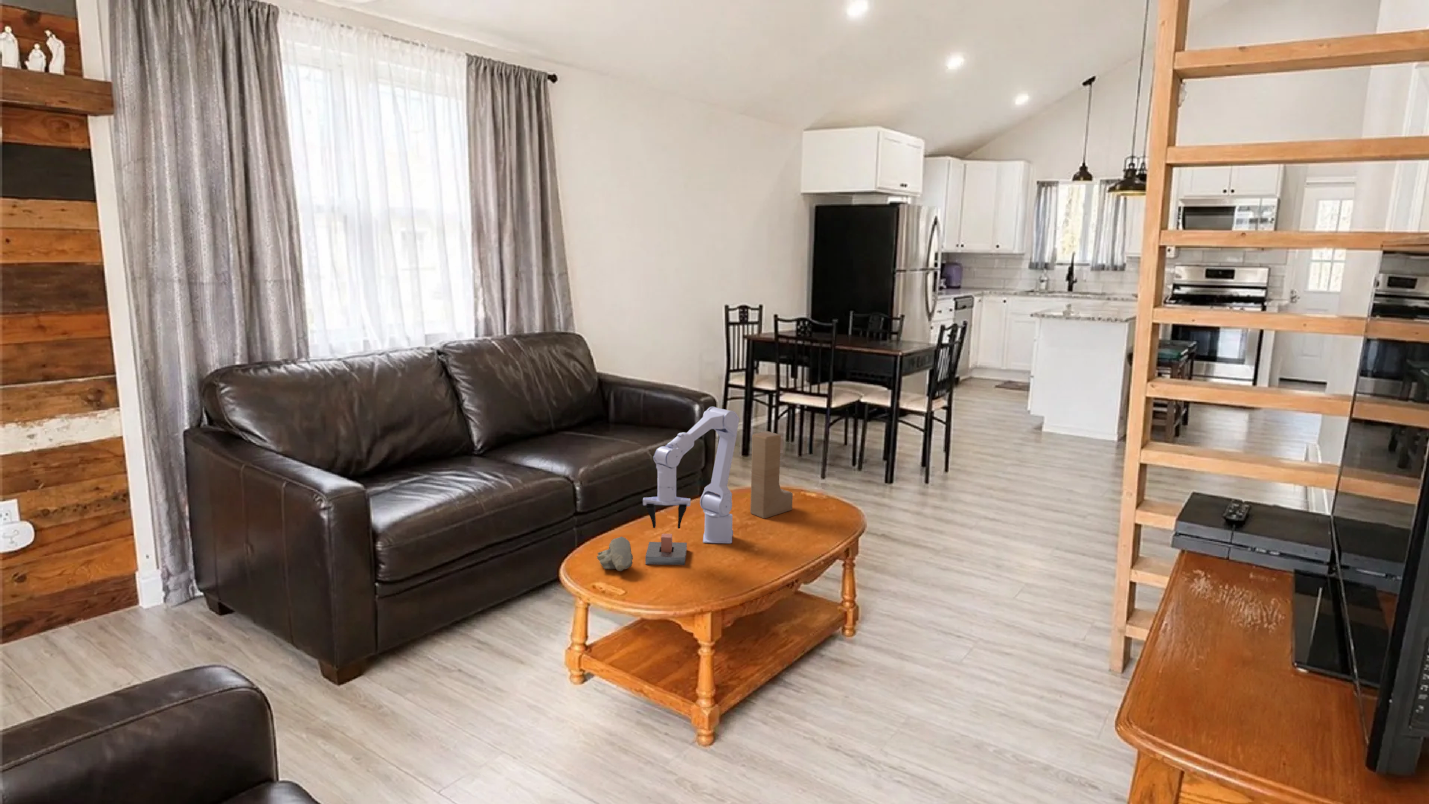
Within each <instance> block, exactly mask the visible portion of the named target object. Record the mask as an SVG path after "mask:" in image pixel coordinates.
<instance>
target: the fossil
mask: <svg viewBox="0 0 1429 804" xmlns="http://www.w3.org/2000/svg"><path fill="white" fill-rule="evenodd" d="M596 559H597V560H598V562H599V564H600V566H602V567H603V570H615V569H616V570H617V572H622V571H624V570H626V569H629V568H630V567H632V565H633V563H634V562H633V559H634V557H633V553H632V547H631V544H630V541H629V539H627V538H626V537H623V536H619V537H617V538H616V537H615V538H613V539H611V541H610V542H609V544H608V548H607V549H604V550H603V551H599V552H597V556H596Z"/></svg>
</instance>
